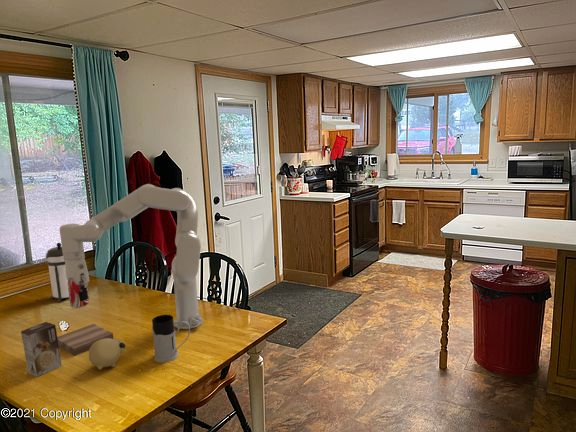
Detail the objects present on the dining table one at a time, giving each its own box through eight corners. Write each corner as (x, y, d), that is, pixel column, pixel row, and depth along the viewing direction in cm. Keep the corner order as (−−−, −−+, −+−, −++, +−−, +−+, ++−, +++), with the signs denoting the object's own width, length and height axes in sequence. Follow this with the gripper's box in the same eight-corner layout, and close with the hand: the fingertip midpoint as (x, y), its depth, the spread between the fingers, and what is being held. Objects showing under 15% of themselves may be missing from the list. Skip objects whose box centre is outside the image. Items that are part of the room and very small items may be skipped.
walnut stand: (113, 339, 175) (112, 333, 174) (74, 355, 163) (73, 348, 162) (94, 330, 185) (93, 323, 184) (56, 344, 172) (55, 337, 172)
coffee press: (74, 302, 220) (67, 245, 214) (44, 303, 220) (35, 246, 215) (90, 290, 237) (83, 238, 231) (62, 291, 237) (54, 238, 232)
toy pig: (130, 363, 156) (127, 335, 154) (98, 377, 147) (94, 348, 145) (117, 354, 162) (114, 328, 160) (86, 368, 153) (82, 340, 151)
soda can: (82, 309, 167) (78, 280, 165) (66, 308, 168) (62, 279, 166) (93, 302, 174) (90, 274, 172) (78, 302, 175) (74, 274, 173)
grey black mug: (158, 350, 164) (154, 314, 161) (195, 350, 163) (192, 313, 161) (150, 362, 155) (146, 324, 153) (189, 361, 155) (185, 323, 152)
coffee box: (52, 361, 159) (46, 321, 156) (62, 365, 156) (56, 324, 153) (27, 373, 151) (20, 330, 149) (36, 377, 148) (30, 334, 145)
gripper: (94, 256, 165) (99, 299, 168) (73, 250, 175) (78, 291, 179) (74, 260, 159) (80, 305, 162) (54, 254, 170) (60, 296, 173)
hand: (79, 297), depth 170 cm, fingers closed on soda can, 6 cm apart
